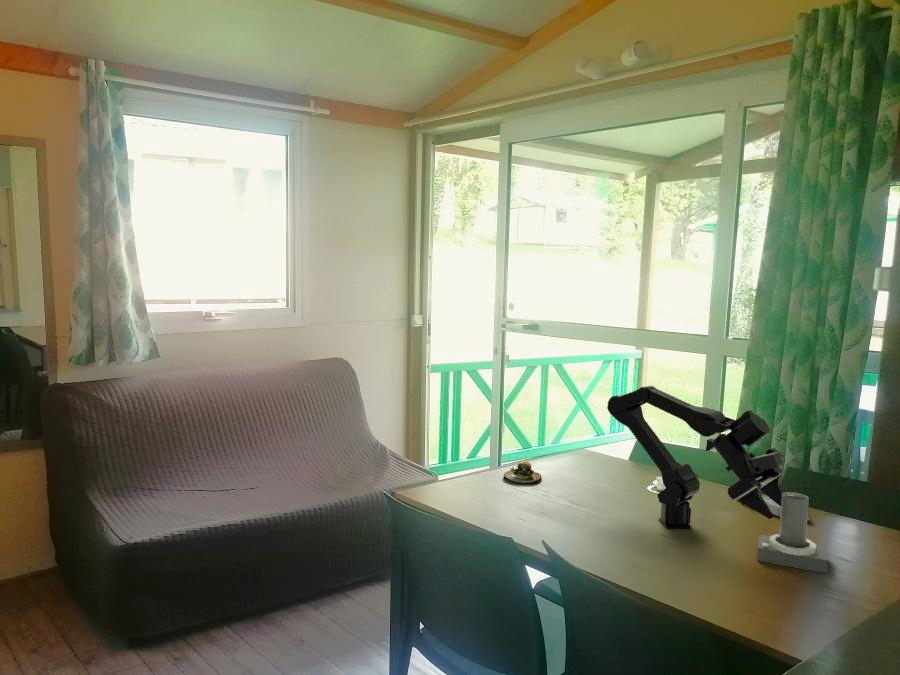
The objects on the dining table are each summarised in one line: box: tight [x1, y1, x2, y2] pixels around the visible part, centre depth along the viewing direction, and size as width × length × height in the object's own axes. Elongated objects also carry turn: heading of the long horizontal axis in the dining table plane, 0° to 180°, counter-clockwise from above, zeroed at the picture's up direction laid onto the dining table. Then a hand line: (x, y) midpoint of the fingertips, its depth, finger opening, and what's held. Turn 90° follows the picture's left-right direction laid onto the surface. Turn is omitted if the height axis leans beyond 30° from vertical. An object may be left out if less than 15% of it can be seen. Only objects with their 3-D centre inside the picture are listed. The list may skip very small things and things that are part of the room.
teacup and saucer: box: [646, 476, 665, 494], centre depth 206 cm, size 9×8×4 cm
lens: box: [778, 491, 810, 548], centre depth 156 cm, size 6×6×12 cm
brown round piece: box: [503, 455, 543, 485], centre depth 214 cm, size 12×12×8 cm
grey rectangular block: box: [756, 533, 828, 575], centre depth 157 cm, size 14×9×4 cm
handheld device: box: [738, 486, 811, 521], centre depth 189 cm, size 10×20×5 cm, turn 26°
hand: (779, 513), depth 158 cm, fingers open, 9 cm apart
